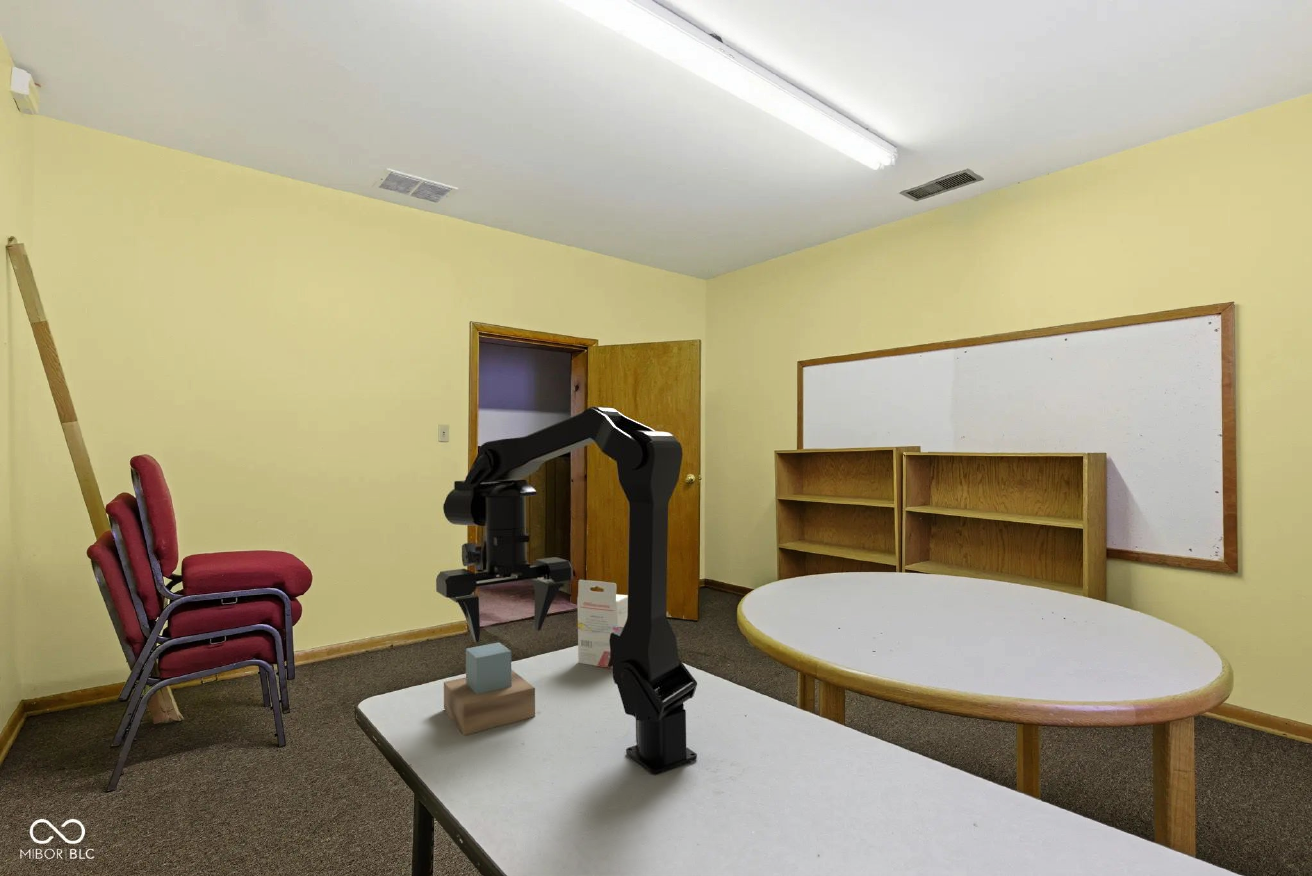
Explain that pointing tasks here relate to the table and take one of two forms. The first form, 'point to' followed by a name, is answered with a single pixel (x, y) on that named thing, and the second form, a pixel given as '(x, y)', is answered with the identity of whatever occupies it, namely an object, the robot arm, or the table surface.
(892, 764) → the table surface
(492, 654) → the slate block
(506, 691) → the walnut block
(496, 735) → the table surface
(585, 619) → the ink cartridge box
